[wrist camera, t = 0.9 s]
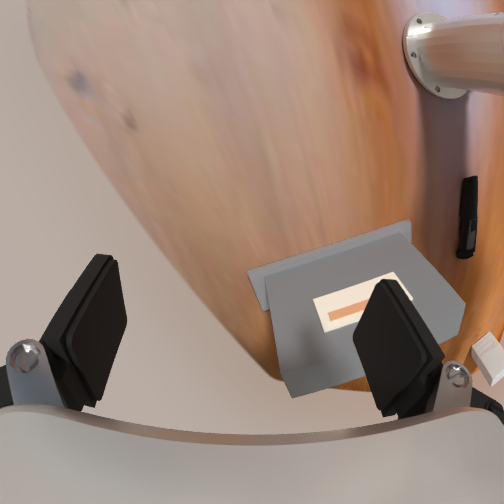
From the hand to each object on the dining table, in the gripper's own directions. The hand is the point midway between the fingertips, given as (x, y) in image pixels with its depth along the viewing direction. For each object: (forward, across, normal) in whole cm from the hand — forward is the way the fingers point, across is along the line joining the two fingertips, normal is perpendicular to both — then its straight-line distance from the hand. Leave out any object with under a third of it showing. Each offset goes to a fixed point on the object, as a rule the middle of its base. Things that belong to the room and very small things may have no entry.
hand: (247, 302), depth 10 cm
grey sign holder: (+25, -15, +13) cm, 32 cm away
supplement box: (+26, -70, +36) cm, 83 cm away
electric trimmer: (+26, -37, +3) cm, 45 cm away
